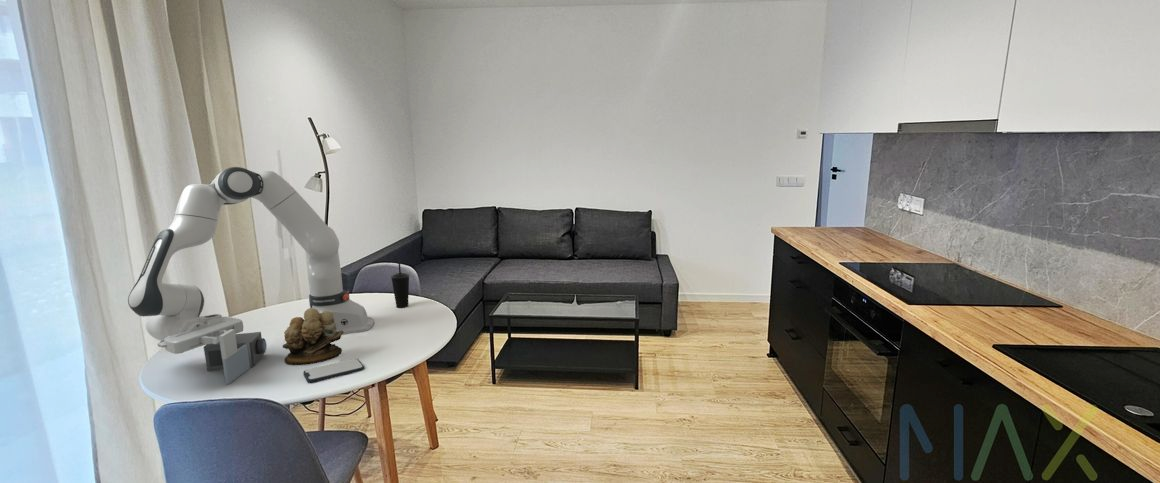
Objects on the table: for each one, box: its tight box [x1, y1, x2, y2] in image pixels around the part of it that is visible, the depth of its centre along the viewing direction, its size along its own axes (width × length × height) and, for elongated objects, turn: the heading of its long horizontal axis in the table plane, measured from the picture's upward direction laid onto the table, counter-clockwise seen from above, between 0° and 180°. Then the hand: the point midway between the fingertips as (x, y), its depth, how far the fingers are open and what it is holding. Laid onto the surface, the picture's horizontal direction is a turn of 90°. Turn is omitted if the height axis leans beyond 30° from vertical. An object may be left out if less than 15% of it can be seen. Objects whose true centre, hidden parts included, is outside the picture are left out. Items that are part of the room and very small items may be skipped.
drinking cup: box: [390, 260, 411, 309], centre depth 219 cm, size 8×8×20 cm
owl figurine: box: [282, 307, 344, 366], centre depth 168 cm, size 18×12×17 cm, turn 119°
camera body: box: [203, 331, 267, 372], centre depth 165 cm, size 15×10×9 cm, turn 106°
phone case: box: [303, 358, 365, 384], centre depth 159 cm, size 9×2×16 cm
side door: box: [219, 329, 254, 385], centre depth 155 cm, size 12×1×15 cm, turn 3°
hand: (223, 338), depth 151 cm, fingers closed
